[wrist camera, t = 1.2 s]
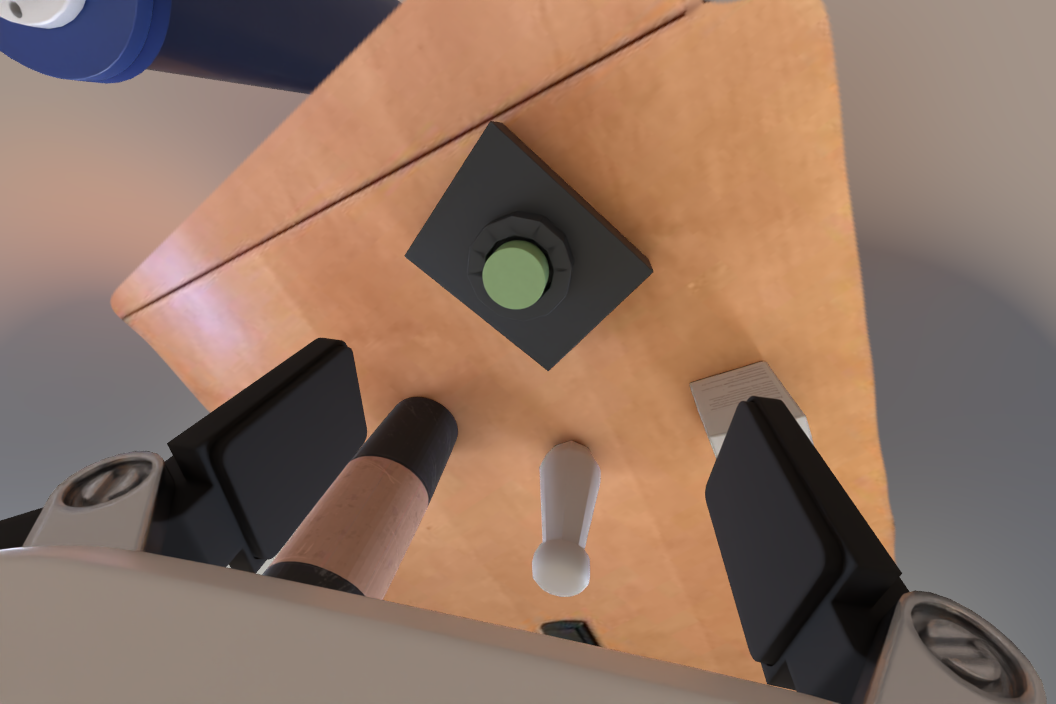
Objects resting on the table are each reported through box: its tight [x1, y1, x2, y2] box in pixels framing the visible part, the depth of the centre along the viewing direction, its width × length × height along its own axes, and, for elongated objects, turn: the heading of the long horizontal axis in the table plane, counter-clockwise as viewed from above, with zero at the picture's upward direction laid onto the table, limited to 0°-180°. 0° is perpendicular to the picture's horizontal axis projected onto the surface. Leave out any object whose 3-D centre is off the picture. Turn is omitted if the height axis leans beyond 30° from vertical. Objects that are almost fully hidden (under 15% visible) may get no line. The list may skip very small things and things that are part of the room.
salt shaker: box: [532, 441, 601, 597], centre depth 34 cm, size 6×6×13 cm
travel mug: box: [262, 397, 458, 600], centre depth 32 cm, size 8×8×20 cm
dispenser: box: [405, 121, 653, 371], centre depth 28 cm, size 14×11×5 cm
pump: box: [483, 240, 549, 309], centre depth 25 cm, size 4×4×2 cm
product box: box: [690, 362, 814, 459], centre depth 30 cm, size 6×6×7 cm
